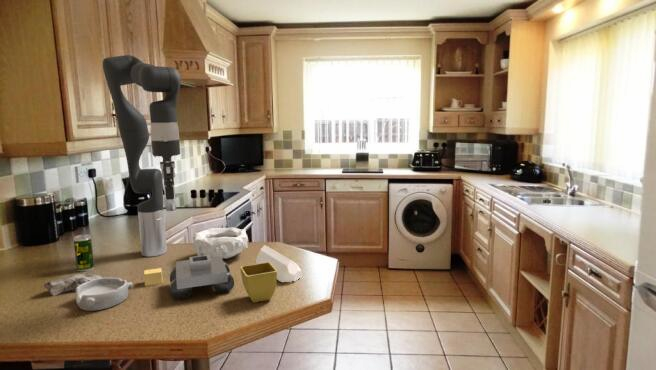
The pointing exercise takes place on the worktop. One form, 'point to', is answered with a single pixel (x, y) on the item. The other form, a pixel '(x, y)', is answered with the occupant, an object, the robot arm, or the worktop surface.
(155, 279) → the pale yellow block
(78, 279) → the mineral rock
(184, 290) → the dolly
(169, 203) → the pin
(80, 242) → the beer can
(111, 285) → the dish
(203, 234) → the bowl
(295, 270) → the white faceted prism
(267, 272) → the flower pot
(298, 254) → the worktop surface
